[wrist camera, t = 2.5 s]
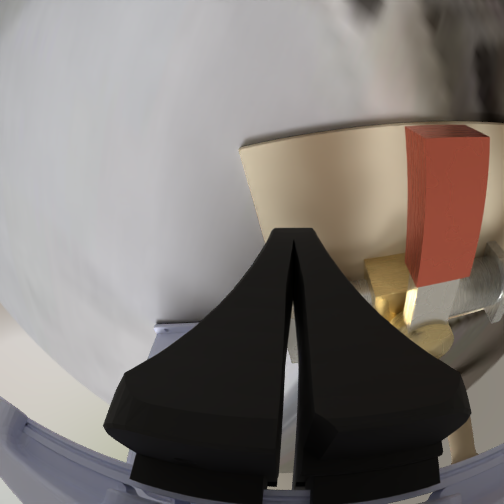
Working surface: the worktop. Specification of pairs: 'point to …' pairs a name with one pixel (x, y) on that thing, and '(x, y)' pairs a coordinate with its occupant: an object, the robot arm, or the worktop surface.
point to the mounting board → (355, 189)
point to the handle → (462, 443)
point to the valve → (396, 283)
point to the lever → (441, 226)
